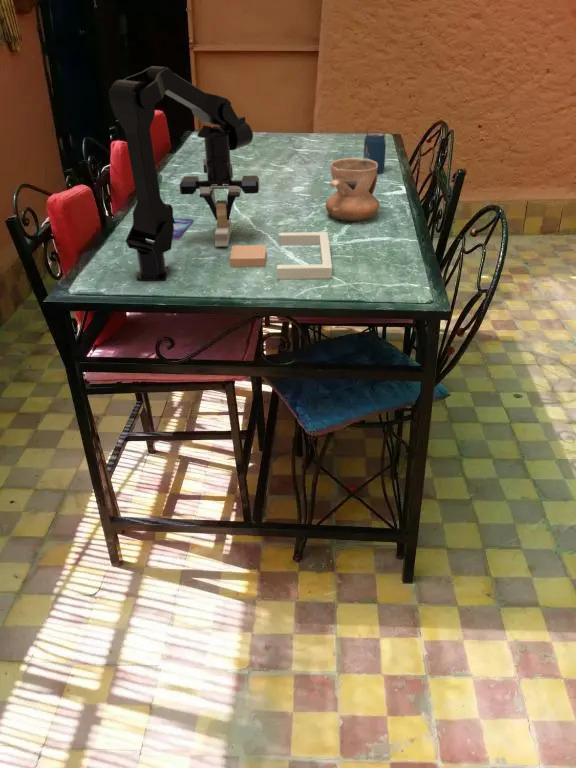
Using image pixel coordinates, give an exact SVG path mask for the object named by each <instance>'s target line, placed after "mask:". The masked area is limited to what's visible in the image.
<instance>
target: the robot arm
mask: <svg viewBox="0 0 576 768" xmlns="http://www.w3.org/2000/svg"><path fill="white" fill-rule="evenodd" d="M165 95H166V96H168V97H169V98H172V99H174V100H175V101H176V102H178V103H180V104H182V105H184V106H185V107H187V108H189V109H190V110H191V112H192V115H193V116H194V117H195V118H197V119H198V120H199V122H201V123H203V124H204V123H205V124H208V125H209V126H208V125H203V126H202V128H201V129H200V130H199V131H198V133H197V137H198V138H203V139H204V140H203V141H204V152H205V159H203V172H204V173H205V174H206V176H207V180H200V179H199V176H198V175H195V176H193V175H191V176H189V175H187V176H185V175H184V176H183V177H182V179H181V180H180V182H179V192H180V193H179V194H180V195H194V194H195V193H196V191H197V190H199V198H203V200H204V201H205V202H206V204H207V205H208V206H209V208H210V210H211V213H212V215H213V217H214V219H215V221H217V211H216V202H217V200H216V195H215V190H217V189H219V190H225V189H226V190H227V189H228V190H227V191H228V192H227V194H226V195H227V196H226V197H227V199H226V200H227V220H229V218H231V217H230V216H231V212H232V208H233V205H234V202H235V200H236V198H239V197H240V196H241V192H243V193H244V194H246V195H247V194H259V193H260V177H259V176H258V175H242V178H241V179H240V180H239V179H234V180H233V178H234V175H233V174H234V173H233V171H234V170H233V163H232V162H231V152H230V151H235V150H237V149H240V148H244V147H247V146H248V145H250V144H251V143H252V141H253V137H254V133H253V130H252V128H251V126H250V125H249V124H248V123H247V122H246V117H245V116H240V115H238V116H237V113H236V112H235V110H234V108H233V107H232V103H231V101H230V100H229V98H227V97H223V96H221V95H218V94H217V95H216V94H212V93H208V92H205V91H203V90H202V89H200V88H199V87H197V86H195V85H193V84H192V83H191V82H189V81H187V80H185V79H184V78H182V76H181V77H180V75H178V74H176V73H175V72H173V71H172V70H171V69H170V68H168V67H167V66H155V65H151V66H149V67H147V68H146V69H144V70H142V71H140V72H137V73H135V74H133V75H129V76H126V77H125V78H124V79H117V80H115V81H114V82H113V83H112V85H111V87H110V88H109V90H108V99H109V103H110V106H111V109H112V112H113V114H114V117H115V119H116V120H117V122H118V123H119V125H120V126H121V128H122V129H123V131H124V134H125V139H126V146H127V152H128V157H129V162H130V169H131V173H132V179H133V183H134V184H133V185H134V191H135V195H136V204H135V206H134V209H133V211H132V221H133V222H132V226H131V228H130V231H129V233H128V235H127V237H126V239H125V243H126V244H127V247H128V248H129V249H133V250H136V254H137V261H138V268H139V272H138V274H137V276H136V281H165V280H167V277H168V275H169V272H170V270H171V267H170V266H166V261H165V260H166V259H165V253H166V252H168V251H170V250H171V249H172V245H173V241H172V237H173V231H174V225H173V223H174V224H175V221H174V218H175V217H174V210H173V209H174V208H173V206H172V205H171V204H167V203H165V202H164V201H163V200H162V197H161V193H160V183H159V181H158V180H159V179H158V172H157V166H156V160H155V153H154V148H153V142H152V135H151V134H152V133H151V126H152V124H153V122H154V121H153V120H154V118H155V117H156V116H155V115H156V114H155V113H156V111H155V109H156V108H155V107H156V106H155V105H156V104H158V103H159V102H161V101H162V100H163V98H164V96H165ZM210 125H213V126H210Z"/></svg>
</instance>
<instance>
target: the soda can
mask: <svg viewBox="0 0 576 768" xmlns="http://www.w3.org/2000/svg"><path fill="white" fill-rule="evenodd" d="M363 144H364V145H363V159H370V160H372V161H375V162H377V164H378V168H377V175H380V174H383V171H385V170H384V169H385V162H386V151H387V150H386V149H387V138H386V135H385V133H384V132H381V131H380V132H379V131H371V132H368V133H366V136H365V138H364V143H363Z"/></svg>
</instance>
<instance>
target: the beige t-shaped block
mask: <svg viewBox="0 0 576 768" xmlns="http://www.w3.org/2000/svg"><path fill="white" fill-rule="evenodd" d="M216 211H217V220H216V221H217V225H216V227H215V233H214V244H215V247H229V242H230V238H231V233H232V230H233V227H232V218H231V217H229V220H227V199H225V200H216Z"/></svg>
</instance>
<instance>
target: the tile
mask: <svg viewBox="0 0 576 768" xmlns="http://www.w3.org/2000/svg"><path fill="white" fill-rule="evenodd" d="M266 260H267V245H264V244H262V245H261V244H260V245H259V244H258V245H257V244H256V245H253V244H252V245H232V247H231V251H230V257H229V266H230V268H265V267H266V262H267V261H266Z"/></svg>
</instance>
